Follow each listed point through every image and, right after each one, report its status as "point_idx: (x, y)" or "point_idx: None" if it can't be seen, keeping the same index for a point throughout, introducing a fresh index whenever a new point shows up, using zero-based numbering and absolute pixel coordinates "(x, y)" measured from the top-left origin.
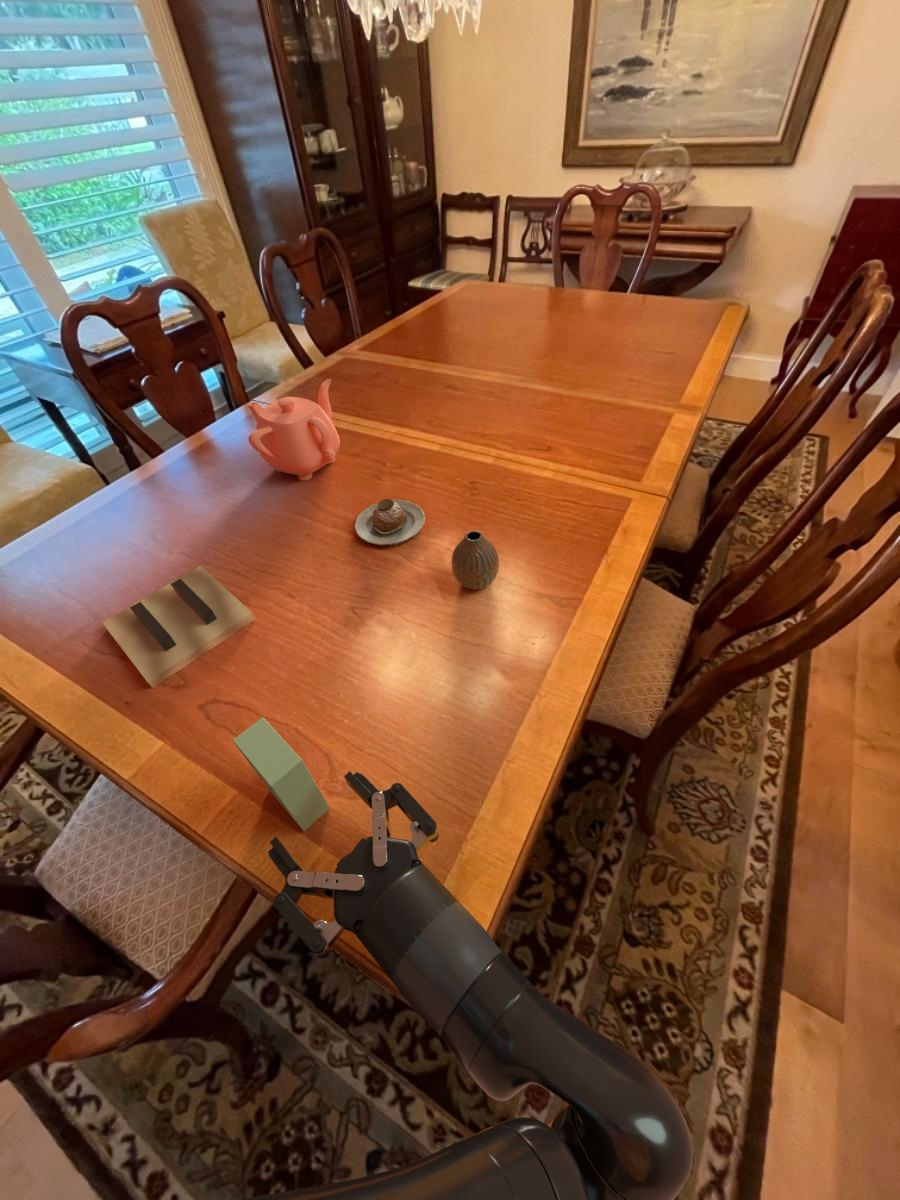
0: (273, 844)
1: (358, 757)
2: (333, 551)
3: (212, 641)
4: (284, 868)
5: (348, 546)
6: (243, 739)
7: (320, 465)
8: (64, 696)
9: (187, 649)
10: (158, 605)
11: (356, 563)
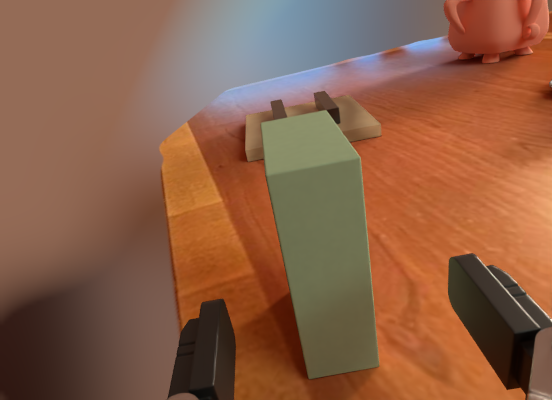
0: (205, 308)
1: None
2: (508, 102)
3: None
4: (185, 377)
5: (532, 100)
6: (276, 123)
7: (515, 45)
8: (185, 153)
9: None
10: (295, 111)
11: (541, 111)
